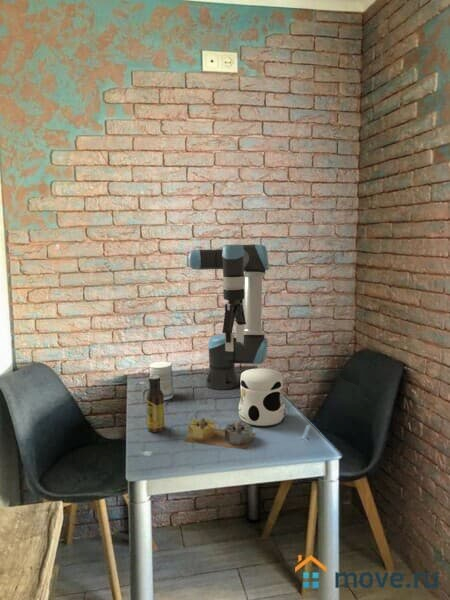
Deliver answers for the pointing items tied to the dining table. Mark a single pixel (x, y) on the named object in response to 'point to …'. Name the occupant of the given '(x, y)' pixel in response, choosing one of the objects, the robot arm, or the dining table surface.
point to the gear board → (219, 437)
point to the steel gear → (238, 434)
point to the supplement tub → (164, 377)
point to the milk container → (261, 397)
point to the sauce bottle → (155, 405)
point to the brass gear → (202, 430)
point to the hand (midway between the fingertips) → (235, 346)
